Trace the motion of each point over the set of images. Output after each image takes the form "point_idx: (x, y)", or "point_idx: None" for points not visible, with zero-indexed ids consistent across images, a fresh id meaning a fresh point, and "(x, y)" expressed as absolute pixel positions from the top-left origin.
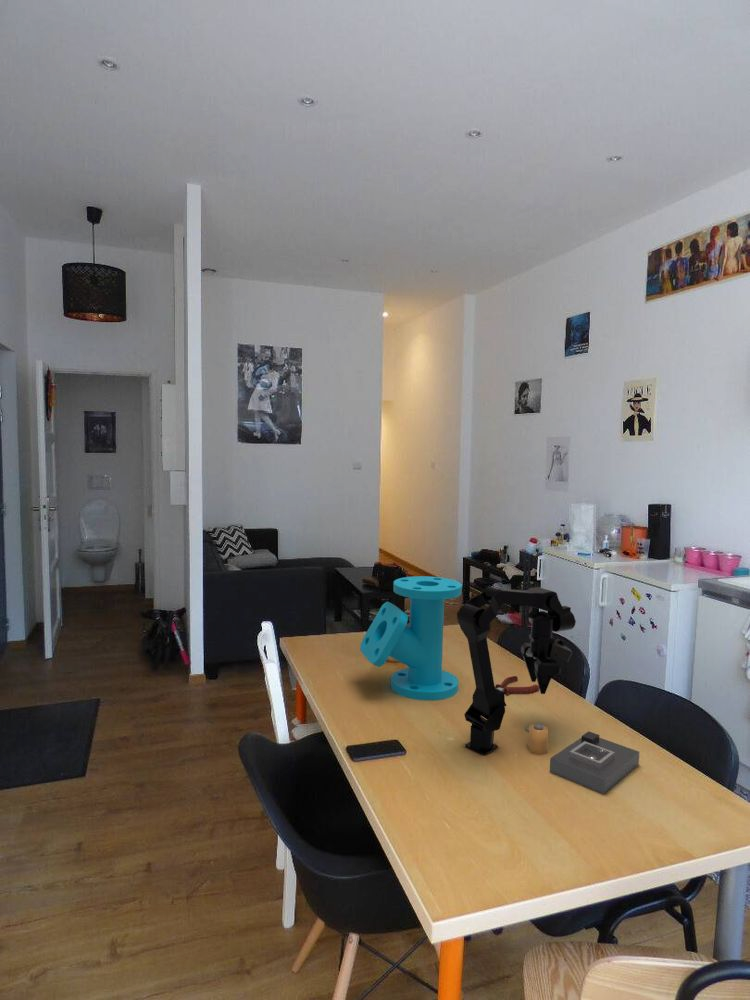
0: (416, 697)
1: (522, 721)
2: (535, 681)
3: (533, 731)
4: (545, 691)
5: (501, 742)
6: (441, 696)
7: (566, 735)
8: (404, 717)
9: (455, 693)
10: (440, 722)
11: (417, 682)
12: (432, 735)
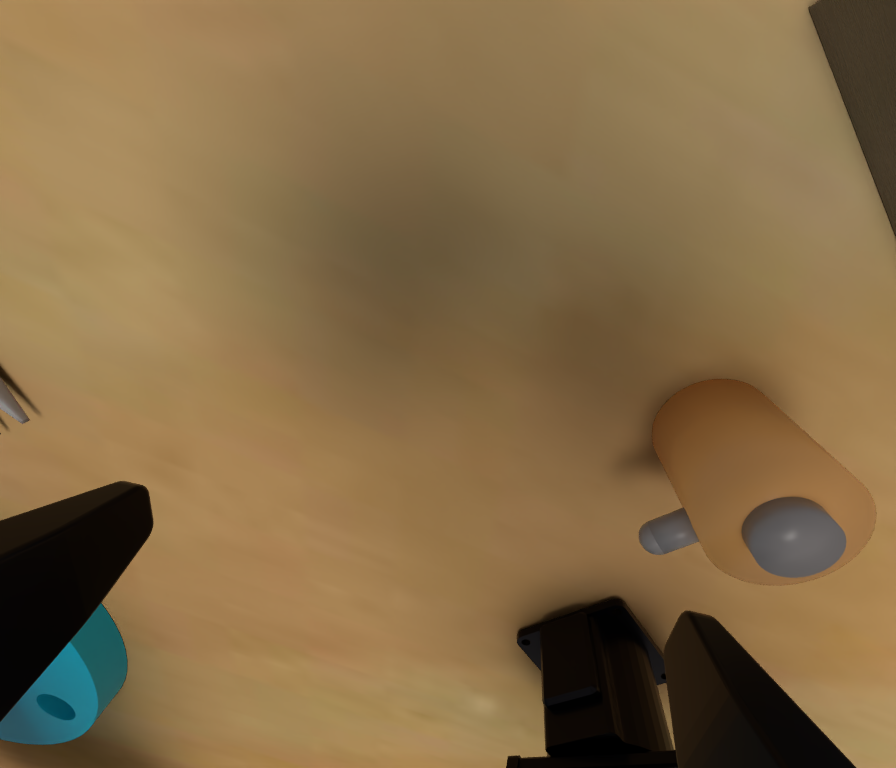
0: (118, 686)
1: (323, 347)
2: (141, 486)
3: (806, 576)
4: (752, 666)
5: (566, 559)
6: (90, 617)
7: (574, 116)
8: (292, 754)
9: None
10: (334, 683)
11: None
12: (447, 740)
